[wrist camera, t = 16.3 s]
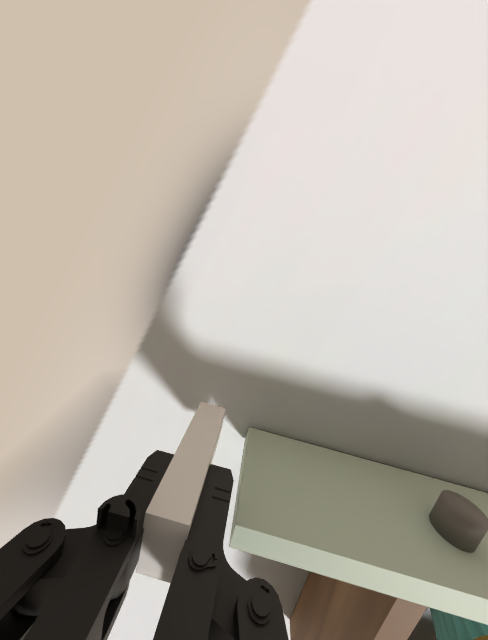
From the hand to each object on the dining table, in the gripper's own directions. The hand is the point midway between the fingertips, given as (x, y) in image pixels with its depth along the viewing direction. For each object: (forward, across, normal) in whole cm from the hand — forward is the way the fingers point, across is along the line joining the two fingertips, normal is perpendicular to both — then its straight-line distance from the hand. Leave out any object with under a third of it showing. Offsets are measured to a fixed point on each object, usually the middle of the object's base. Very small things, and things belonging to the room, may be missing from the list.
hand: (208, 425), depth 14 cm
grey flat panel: (+1, +13, 0) cm, 13 cm away
